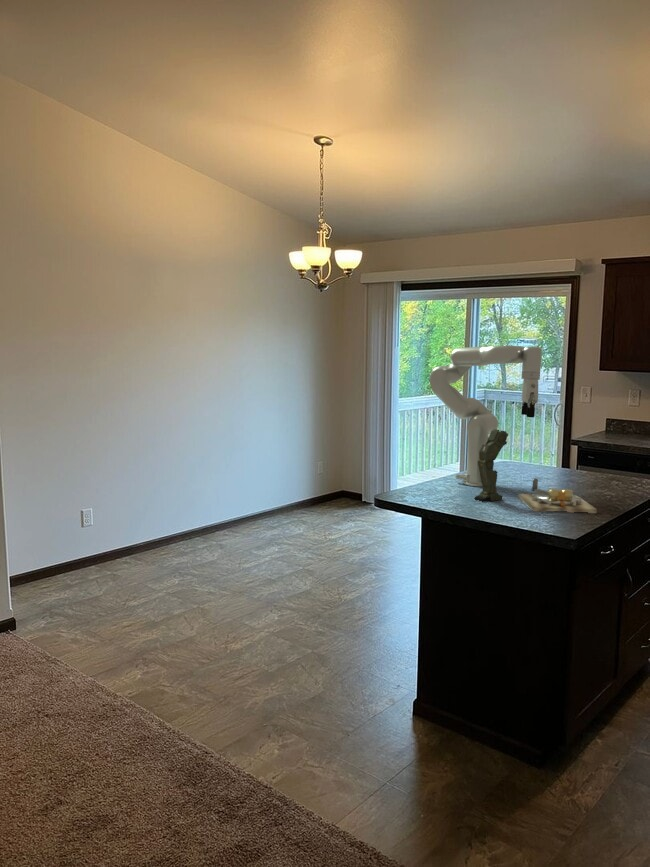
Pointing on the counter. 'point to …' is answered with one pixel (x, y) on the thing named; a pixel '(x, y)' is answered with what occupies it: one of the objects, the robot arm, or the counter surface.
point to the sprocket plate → (545, 507)
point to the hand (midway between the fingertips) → (527, 415)
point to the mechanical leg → (490, 465)
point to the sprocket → (543, 495)
